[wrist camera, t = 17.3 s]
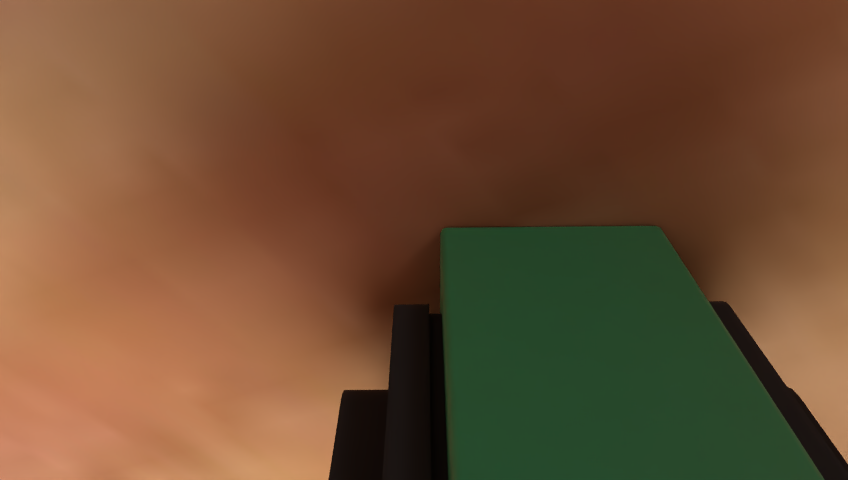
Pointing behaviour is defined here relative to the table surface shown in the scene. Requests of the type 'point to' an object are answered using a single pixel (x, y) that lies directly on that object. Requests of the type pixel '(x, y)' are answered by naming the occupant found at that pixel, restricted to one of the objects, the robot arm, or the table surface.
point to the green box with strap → (596, 364)
